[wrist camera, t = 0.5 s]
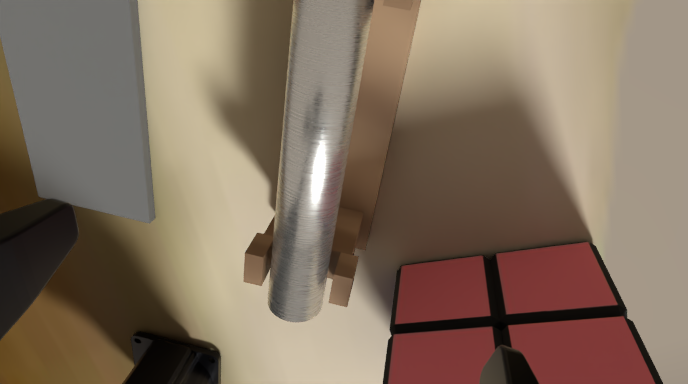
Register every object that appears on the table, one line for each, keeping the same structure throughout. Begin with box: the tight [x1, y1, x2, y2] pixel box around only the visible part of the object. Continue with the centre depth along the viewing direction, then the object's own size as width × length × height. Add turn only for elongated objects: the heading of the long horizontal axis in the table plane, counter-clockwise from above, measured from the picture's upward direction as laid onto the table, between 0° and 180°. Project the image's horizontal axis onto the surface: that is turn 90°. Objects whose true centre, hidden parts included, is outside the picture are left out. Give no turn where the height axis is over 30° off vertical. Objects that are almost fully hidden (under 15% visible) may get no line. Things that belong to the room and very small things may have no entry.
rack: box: [244, 0, 421, 307], centre depth 18 cm, size 15×5×6 cm, turn 172°
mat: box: [0, 0, 155, 223], centre depth 23 cm, size 16×7×1 cm, turn 172°
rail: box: [268, 0, 375, 322], centre depth 16 cm, size 15×2×2 cm, turn 172°
